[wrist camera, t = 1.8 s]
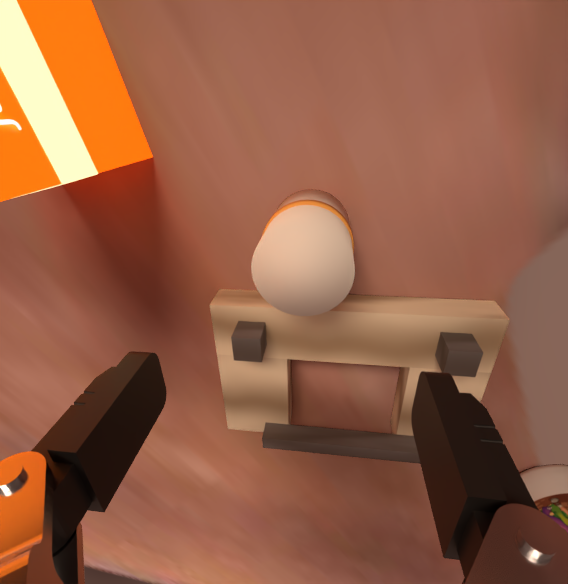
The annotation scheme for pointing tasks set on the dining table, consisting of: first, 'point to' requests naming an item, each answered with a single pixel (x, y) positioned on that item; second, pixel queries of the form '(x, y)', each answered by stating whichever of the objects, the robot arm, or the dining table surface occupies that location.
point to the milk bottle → (549, 491)
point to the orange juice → (60, 98)
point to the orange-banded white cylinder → (305, 255)
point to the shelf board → (348, 361)
